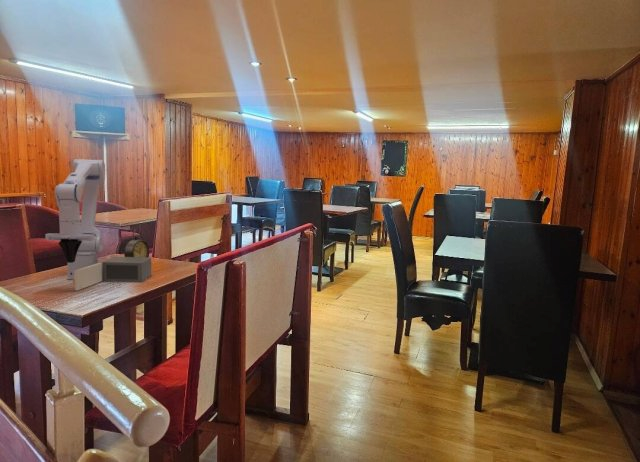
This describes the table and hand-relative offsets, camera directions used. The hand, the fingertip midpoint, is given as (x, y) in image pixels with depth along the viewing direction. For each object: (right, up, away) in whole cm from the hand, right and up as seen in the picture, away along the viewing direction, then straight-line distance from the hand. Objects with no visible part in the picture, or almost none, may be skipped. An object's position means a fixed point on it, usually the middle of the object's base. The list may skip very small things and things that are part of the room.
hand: (71, 262), depth 139 cm
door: (+2, -8, +6) cm, 11 cm away
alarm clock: (+6, -5, +34) cm, 36 cm away
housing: (+10, -7, +19) cm, 23 cm away
